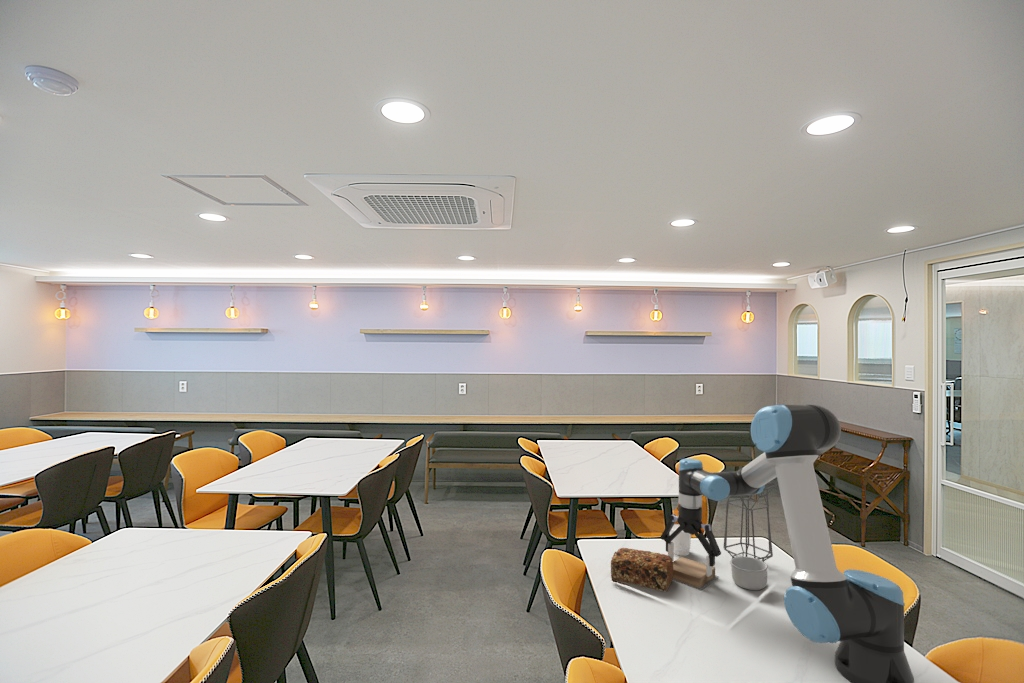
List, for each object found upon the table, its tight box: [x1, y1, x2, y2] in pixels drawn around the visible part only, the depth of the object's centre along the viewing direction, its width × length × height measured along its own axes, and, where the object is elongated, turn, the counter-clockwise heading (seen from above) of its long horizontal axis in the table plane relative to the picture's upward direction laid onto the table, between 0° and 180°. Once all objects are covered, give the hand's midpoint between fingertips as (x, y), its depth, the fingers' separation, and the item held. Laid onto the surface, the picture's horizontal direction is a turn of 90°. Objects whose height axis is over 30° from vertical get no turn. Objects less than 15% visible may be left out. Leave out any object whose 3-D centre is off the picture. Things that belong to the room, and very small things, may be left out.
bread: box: [610, 547, 674, 592], centre depth 163 cm, size 19×11×10 cm, turn 59°
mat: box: [672, 574, 720, 591], centre depth 165 cm, size 14×14×1 cm
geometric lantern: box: [723, 480, 779, 563], centre depth 178 cm, size 16×16×35 cm
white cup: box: [669, 523, 692, 557], centre depth 186 cm, size 8×8×10 cm
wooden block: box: [673, 556, 716, 588], centre depth 165 cm, size 12×12×3 cm
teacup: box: [730, 554, 768, 591], centre depth 162 cm, size 14×11×8 cm
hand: (689, 568), depth 166 cm, fingers open, 13 cm apart
